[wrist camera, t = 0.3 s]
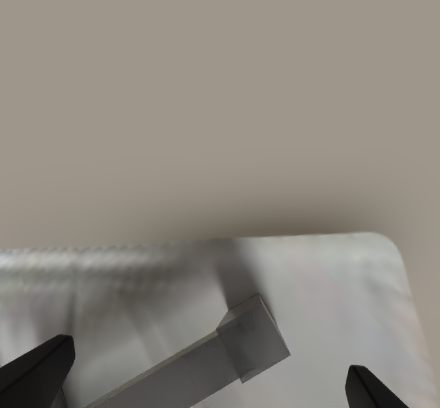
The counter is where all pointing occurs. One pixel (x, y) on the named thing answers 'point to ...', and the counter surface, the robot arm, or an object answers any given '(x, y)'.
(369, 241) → the counter surface
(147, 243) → the counter surface
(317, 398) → the counter surface
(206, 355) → the gray arch stand
